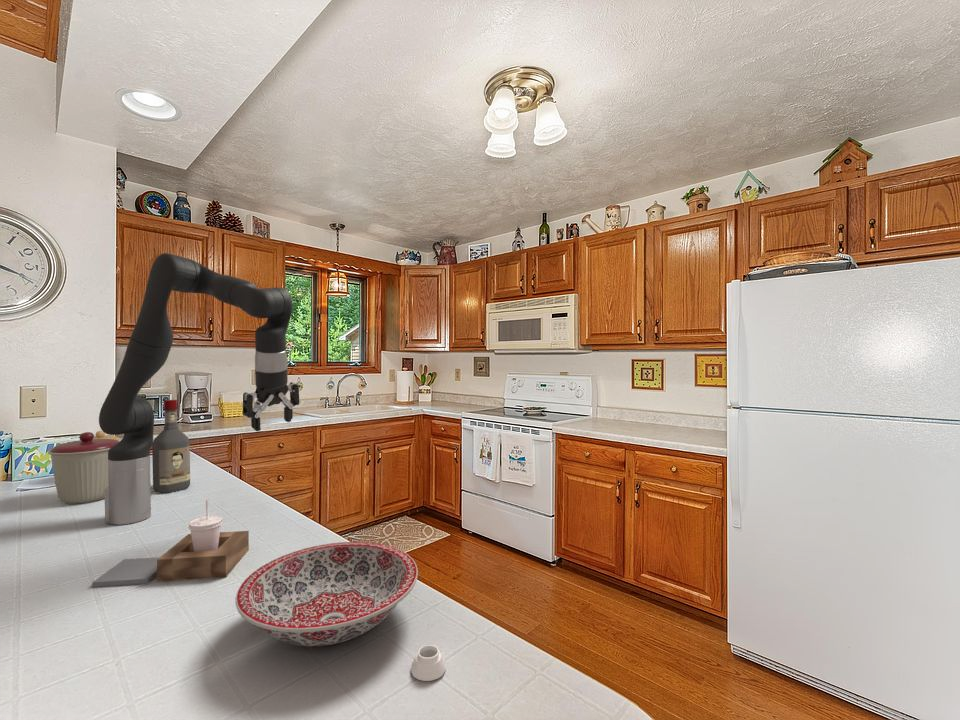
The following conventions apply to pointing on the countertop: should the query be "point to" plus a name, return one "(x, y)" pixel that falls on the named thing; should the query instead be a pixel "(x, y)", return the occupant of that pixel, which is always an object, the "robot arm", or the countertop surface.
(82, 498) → the canister
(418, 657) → the lidless jar
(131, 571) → the slate coaster
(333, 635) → the ceramic bowl
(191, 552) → the frame
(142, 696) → the countertop surface
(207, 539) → the smoothie
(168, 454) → the liquor
